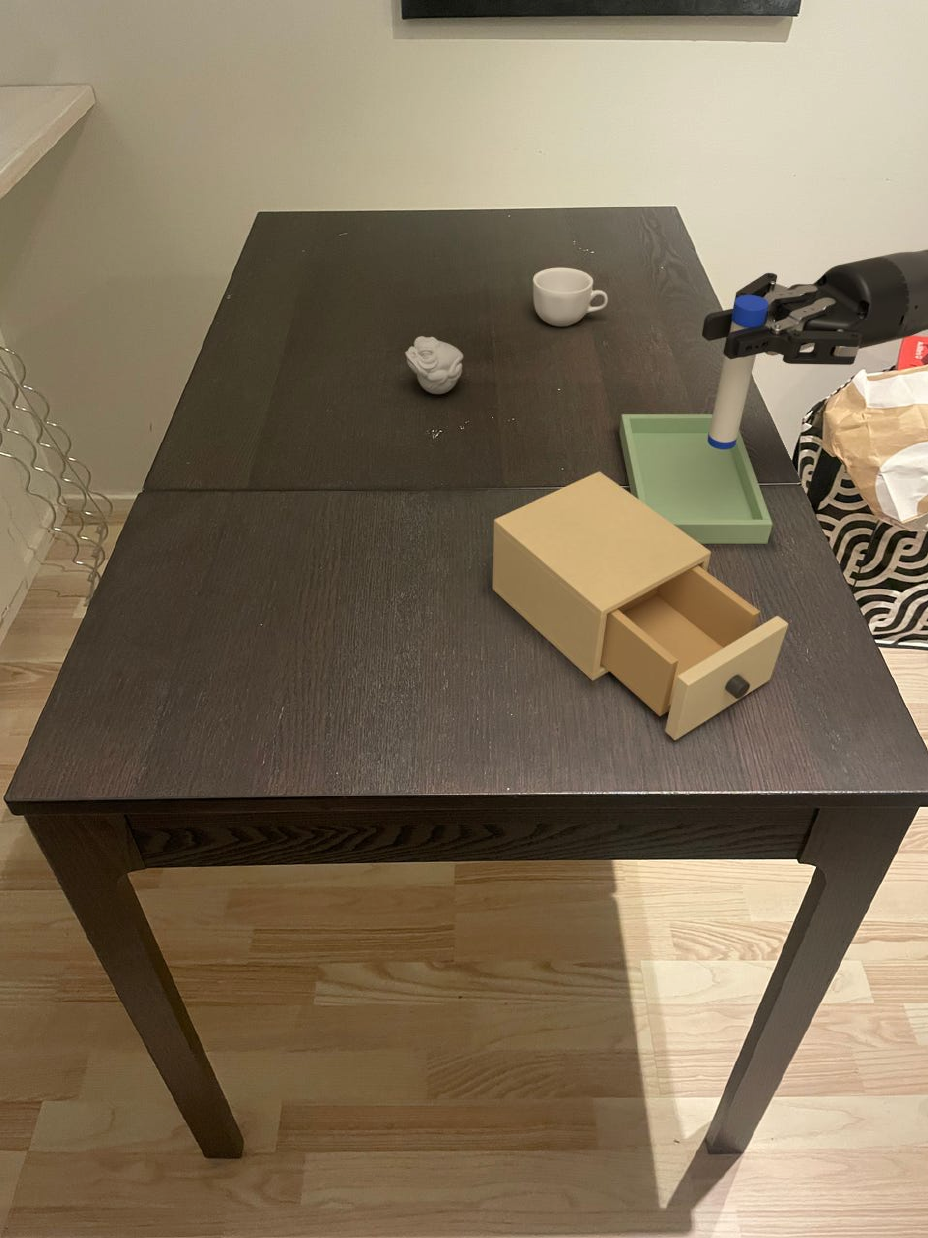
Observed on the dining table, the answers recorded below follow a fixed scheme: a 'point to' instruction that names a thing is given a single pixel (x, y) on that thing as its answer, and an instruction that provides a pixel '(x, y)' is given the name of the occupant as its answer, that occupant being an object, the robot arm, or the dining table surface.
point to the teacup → (564, 295)
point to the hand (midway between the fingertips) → (717, 337)
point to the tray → (694, 478)
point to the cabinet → (585, 562)
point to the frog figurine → (435, 364)
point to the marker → (735, 376)
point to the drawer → (690, 648)
